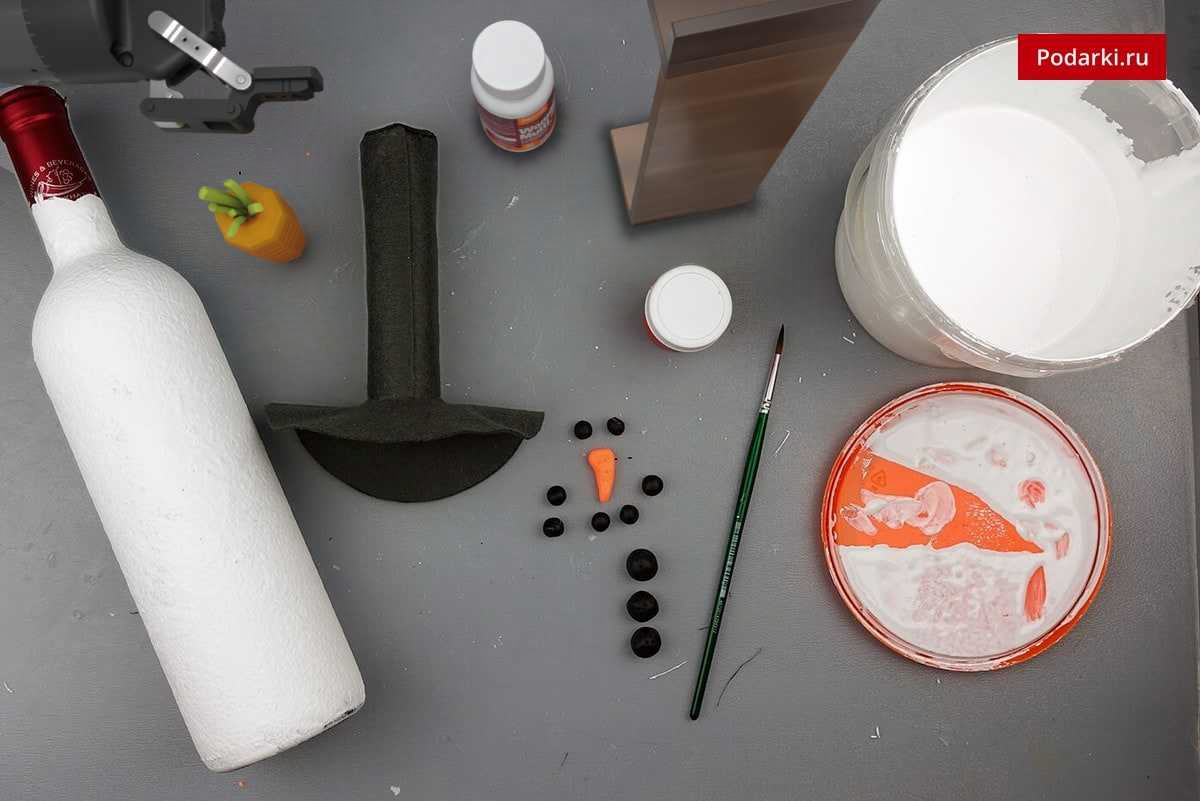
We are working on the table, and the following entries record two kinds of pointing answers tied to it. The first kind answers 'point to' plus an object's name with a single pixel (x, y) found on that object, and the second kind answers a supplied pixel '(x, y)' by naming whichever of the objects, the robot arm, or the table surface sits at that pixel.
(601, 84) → the table surface
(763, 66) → the stand
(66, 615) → the table surface
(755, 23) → the rack
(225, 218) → the carrot
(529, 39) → the pill bottle
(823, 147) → the table surface
